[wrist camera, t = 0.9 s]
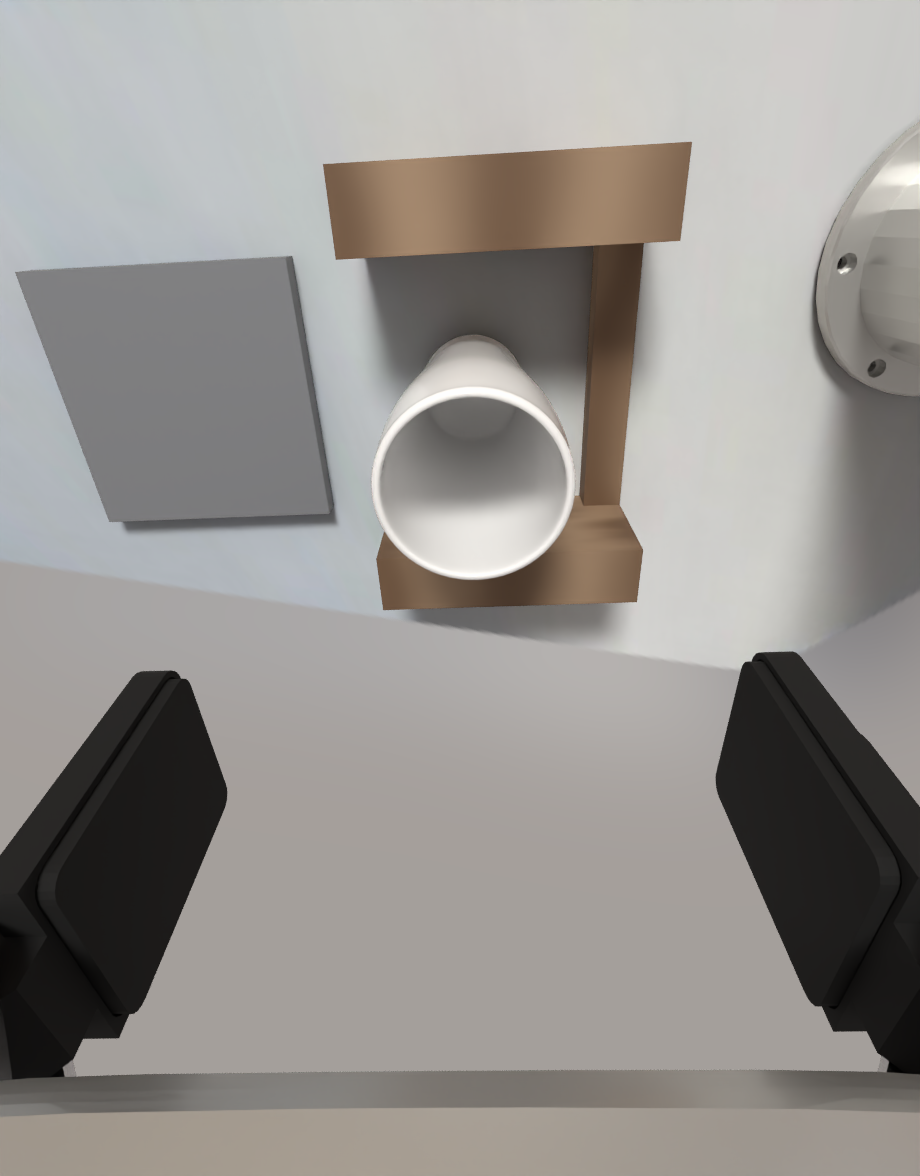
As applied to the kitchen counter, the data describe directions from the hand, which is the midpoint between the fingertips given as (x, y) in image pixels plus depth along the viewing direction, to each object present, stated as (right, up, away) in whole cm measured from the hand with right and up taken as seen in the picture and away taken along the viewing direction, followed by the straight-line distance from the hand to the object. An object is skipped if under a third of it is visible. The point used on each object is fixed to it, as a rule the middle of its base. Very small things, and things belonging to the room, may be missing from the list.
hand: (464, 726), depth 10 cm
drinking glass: (+1, +13, +22) cm, 26 cm away
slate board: (-14, +13, +22) cm, 30 cm away
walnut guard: (+2, +13, +22) cm, 26 cm away
